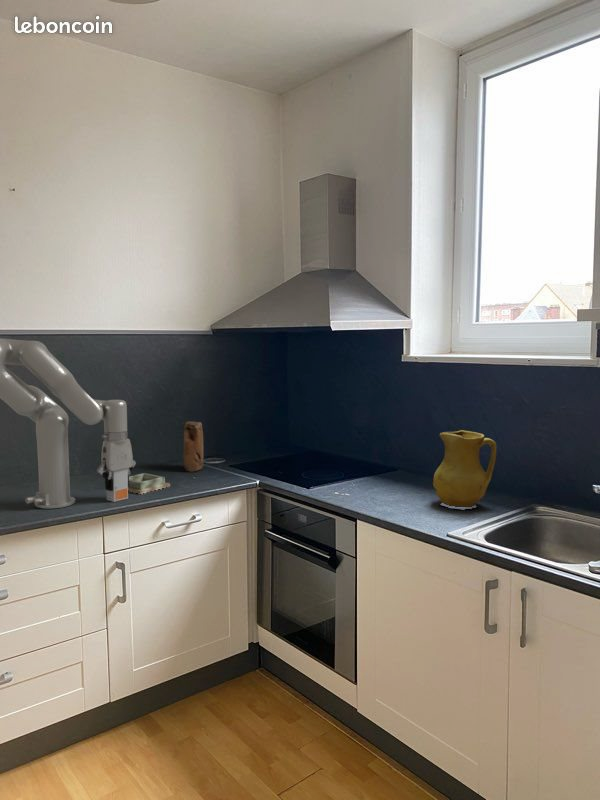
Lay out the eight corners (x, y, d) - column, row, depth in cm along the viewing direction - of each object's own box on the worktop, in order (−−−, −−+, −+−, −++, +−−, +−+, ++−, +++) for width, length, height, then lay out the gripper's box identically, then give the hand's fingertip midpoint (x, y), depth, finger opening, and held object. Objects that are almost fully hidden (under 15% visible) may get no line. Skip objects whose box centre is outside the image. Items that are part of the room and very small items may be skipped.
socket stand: (140, 494, 221) (140, 484, 221) (114, 488, 230) (114, 478, 229) (170, 486, 233) (169, 477, 232) (144, 481, 241) (144, 471, 241)
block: (187, 466, 267) (186, 420, 265) (204, 467, 267) (204, 420, 265) (182, 472, 257) (181, 424, 254) (200, 472, 256) (199, 424, 254)
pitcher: (445, 494, 222) (450, 425, 218) (496, 506, 210) (502, 433, 206) (422, 506, 209) (426, 432, 205) (475, 519, 197) (481, 442, 193)
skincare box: (114, 502, 211) (113, 467, 210) (106, 500, 214) (105, 465, 212) (128, 498, 216) (128, 464, 215) (121, 496, 219) (120, 462, 217)
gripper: (101, 440, 203) (103, 495, 205) (143, 434, 217) (144, 485, 219) (87, 438, 208) (89, 491, 210) (129, 432, 222) (130, 481, 224)
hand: (117, 487), depth 214 cm, fingers closed on skincare box, 6 cm apart
